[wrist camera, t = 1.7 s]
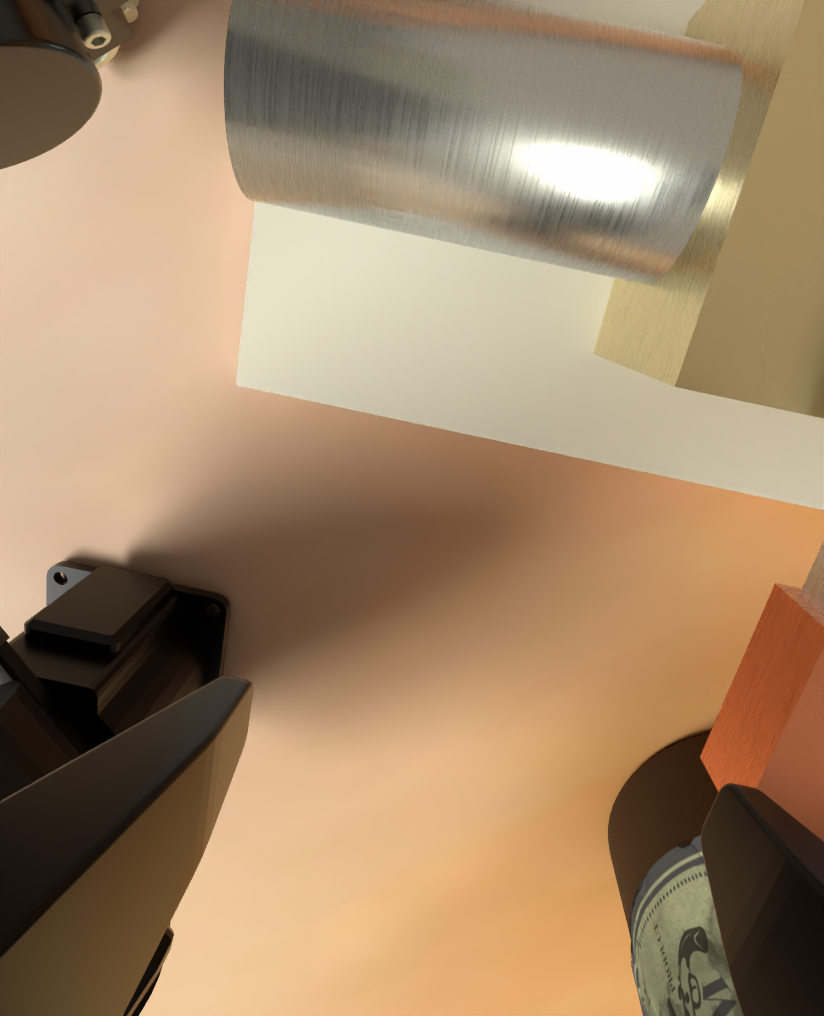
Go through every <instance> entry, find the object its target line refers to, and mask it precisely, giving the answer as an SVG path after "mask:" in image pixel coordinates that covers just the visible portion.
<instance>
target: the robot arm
mask: <svg viewBox="0 0 824 1016" xmlns="http://www.w3.org/2000/svg"><path fill="white" fill-rule="evenodd" d="M60 572H62V573H64V574H65V575H66V576H67V579H68V580H65V579H63V577H62V576H61V574H60ZM210 604H214V605H216V606H217V607H218V608H219V611H220V612H215V611H213V610H212V609H211V608H210ZM229 614H230V603H229V601H228V599H227V598H226V597H224V596H223V595H221V594H219V593H214V592H210V591H205V590H200V589H196V588H191V587H186V586H181V585H177V584H173V583H171V582H170V581H169V580H168V579H164V578H159V577H154V576H150V575H145V574H140V573H135V572H131V571H126V570H121V569H117V568H112V567H107V566H100V567H98V568H96V567H92V566H87V565H82V564H78V563H73V562H68V561H61V562H59V563H57V564H55V565H54V566H52V567H51V568H50V569H49V570H48V573H47V605H46V607H45V608H43V609H42V610H41V611H39V612H38V613H37V614H35V615H34V616H33V617H31V618H30V619H29V620H27V621H26V622H25V624H24V631H23V632H22V633H21V634H19V635H18V636H17V637H15V638H14V639H13V640H12V641H10V642H9V643H8V642H7V641H6V640H7V639H9V636H8V635H7V634H6V632H5V631H4V630H3V629H2V628H1V626H0V1016H139V1014H140V1013H141V1011H142V1009H143V1007H144V1006H145V1004H146V1002H147V1001H148V999H149V997H150V995H151V994H152V991H153V989H154V987H155V985H156V982H157V980H158V978H159V975H160V972H161V969H162V965H163V963H164V961H165V959H166V957H167V955H168V953H169V951H170V949H171V945H172V940H173V936H174V933H173V930H172V929H171V928H170V922H171V919H172V917H173V915H174V913H175V911H176V909H177V907H178V905H179V903H180V901H181V899H182V897H183V895H184V893H185V891H186V889H187V887H188V885H189V883H190V881H191V880H192V878H193V875H194V873H195V871H196V869H197V867H198V865H199V863H200V861H201V858H202V856H203V854H204V851H205V849H206V846H207V844H208V841H209V839H210V836H211V833H212V831H213V828H214V825H215V823H216V820H217V817H218V815H219V812H220V809H221V807H222V804H223V801H224V799H225V796H226V793H227V791H228V788H229V785H230V783H231V780H232V777H233V775H234V772H235V769H236V767H237V764H238V761H239V759H240V756H241V753H242V750H243V748H244V744H245V741H246V737H247V732H248V725H249V718H250V710H251V703H252V695H253V685H252V683H251V682H250V681H249V680H244V679H240V678H235V677H230V676H222V674H223V665H224V657H225V648H226V640H227V631H228V623H229ZM701 849H702V854H703V858H704V863H705V867H706V872H707V876H708V881H709V886H710V890H711V895H712V899H713V904H714V908H715V913H716V917H717V922H718V927H719V931H720V936H721V940H722V945H723V949H724V953H725V957H726V961H727V965H728V969H729V973H730V976H731V979H732V983H733V986H734V990H735V993H736V996H737V999H738V1002H739V1006H740V1009H741V1012H742V1015H743V1016H824V841H822V840H821V839H820V838H819V837H817V836H816V835H815V834H814V833H812V832H811V831H810V830H809V829H808V828H806V827H805V826H804V825H803V824H801V823H800V822H799V821H798V820H796V819H795V818H794V817H793V816H792V815H790V814H789V813H788V812H787V811H785V810H784V809H783V808H782V807H780V806H779V805H778V804H777V803H775V802H774V801H773V800H772V799H771V798H769V797H768V796H767V795H766V794H764V793H763V792H762V791H760V790H759V789H756V788H753V787H749V786H744V785H739V784H734V783H727V784H725V785H723V786H722V787H721V789H720V790H719V792H718V794H717V797H716V799H715V801H714V803H713V805H712V808H711V810H710V812H709V814H708V816H707V819H706V821H705V823H704V825H703V828H702V832H701Z"/></svg>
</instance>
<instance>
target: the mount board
mask: <svg viewBox="0 0 824 1016" xmlns="http://www.w3.org/2000/svg"><path fill="white" fill-rule="evenodd" d="M515 1H520V2H524V3H529V4H534V5H538V6H543V7H548V8H553V9H557V10H562V11H567V12H571V13H576V14H581V15H585V16H590V17H595V18H599V19H604V20H609V21H613V22H618V23H623V24H627V25H632V26H637V27H642V28H646V29H651V30H656V31H660V32H665V33H670V34H674V35H679V36H684V37H685V33H686V30H687V26H688V23H689V20H690V19H691V18H692V17H693V16H694V14H695V13H696V12H697V11H698V10H699V8H700V7H701V6H702V5H703V4H704V3H705V1H706V0H515ZM614 279H615V278H613V277H608V276H604V275H599V274H594V273H590V272H585V271H580V270H575V269H571V268H566V267H561V266H557V265H552V264H547V263H543V262H538V261H533V260H528V259H524V258H519V257H514V256H510V255H505V254H500V253H496V252H491V251H486V250H481V249H477V248H472V247H467V246H463V245H458V244H453V243H449V242H444V241H439V240H435V239H430V238H425V237H420V236H416V235H411V234H406V233H402V232H397V231H392V230H388V229H383V228H378V227H373V226H369V225H364V224H359V223H355V222H350V221H345V220H341V219H336V218H331V217H326V216H322V215H317V214H312V213H308V212H303V211H298V210H294V209H289V208H284V207H279V206H275V205H270V204H265V203H261V202H256V201H255V209H254V219H253V228H252V237H251V247H250V256H249V265H248V275H247V284H246V293H245V303H244V312H243V321H242V331H241V340H240V350H239V359H238V368H237V378H236V385H237V386H242V387H246V388H251V389H256V390H260V391H265V392H270V393H275V394H279V395H284V396H289V397H293V398H298V399H303V400H307V401H312V402H317V403H322V404H326V405H331V406H336V407H340V408H345V409H350V410H355V411H359V412H364V413H369V414H373V415H378V416H383V417H388V418H392V419H397V420H402V421H406V422H411V423H416V424H420V425H425V426H430V427H435V428H439V429H444V430H449V431H453V432H458V433H463V434H468V435H472V436H477V437H482V438H486V439H491V440H496V441H500V442H505V443H510V444H515V445H519V446H524V447H529V448H533V449H538V450H543V451H548V452H552V453H557V454H562V455H566V456H571V457H576V458H581V459H585V460H590V461H595V462H599V463H604V464H609V465H613V466H618V467H623V468H628V469H632V470H637V471H642V472H646V473H651V474H656V475H661V476H665V477H670V478H675V479H679V480H684V481H689V482H693V483H698V484H703V485H708V486H712V487H717V488H722V489H726V490H731V491H736V492H741V493H745V494H750V495H755V496H759V497H764V498H769V499H774V500H778V501H783V502H788V503H792V504H797V505H802V506H806V507H811V508H816V509H821V510H824V419H823V418H819V417H814V416H809V415H805V414H800V413H795V412H790V411H786V410H781V409H776V408H772V407H767V406H762V405H758V404H753V403H748V402H743V401H739V400H734V399H729V398H725V397H720V396H715V395H710V394H706V393H701V392H696V391H692V390H687V389H682V388H678V387H674V386H671V385H669V384H666V383H664V382H661V381H659V380H656V379H654V378H652V377H649V376H647V375H644V374H642V373H639V372H637V371H634V370H632V369H629V368H627V367H624V366H622V365H619V364H617V363H614V362H612V361H609V360H607V359H604V358H602V357H599V356H597V355H595V354H593V352H594V348H595V345H596V341H597V338H598V334H599V331H600V328H601V324H602V321H603V317H604V314H605V310H606V307H607V303H608V300H609V296H610V293H611V289H612V286H613V283H614Z"/></svg>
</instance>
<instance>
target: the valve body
mask: <svg viewBox="0 0 824 1016" xmlns="http://www.w3.org/2000/svg"><path fill="white" fill-rule="evenodd" d="M224 107H225V123H226V133H227V141H228V148H229V154H230V158H231V163H232V167H233V171H234V174H235V177H236V180H237V182H238V185H239V187H240V189H241V191H242V192H243V194H244V195H245V196H246V197H247V198H248V199H249V200H252V201H256V202H261V203H265V204H270V205H275V206H279V207H284V208H289V209H294V210H298V211H303V212H308V213H312V214H317V215H322V216H326V217H331V218H336V219H341V220H345V221H350V222H355V223H359V224H364V225H369V226H373V227H378V228H383V229H388V230H392V231H397V232H402V233H406V234H411V235H416V236H420V237H425V238H430V239H435V240H439V241H444V242H449V243H453V244H458V245H463V246H467V247H472V248H477V249H481V250H486V251H491V252H496V253H500V254H505V255H510V256H514V257H519V258H524V259H528V260H533V261H538V262H543V263H547V264H552V265H557V266H561V267H566V268H571V269H575V270H580V271H585V272H590V273H594V274H599V275H604V276H608V277H613V278H615V279H614V283H613V286H612V289H611V293H610V296H609V300H608V303H607V307H606V310H605V314H604V317H603V321H602V324H601V328H600V331H599V334H598V338H597V341H596V345H595V348H594V352H593V354H595V355H597V356H599V357H602V358H604V359H607V360H609V361H612V362H614V363H617V364H619V365H622V366H624V367H627V368H629V369H632V370H634V371H637V372H639V373H642V374H644V375H647V376H649V377H652V378H654V379H656V380H659V381H661V382H664V383H666V384H669V385H671V386H674V387H678V388H682V389H687V390H692V391H696V392H701V393H706V394H710V395H715V396H720V397H725V398H729V399H734V400H739V401H743V402H748V403H753V404H758V405H762V406H767V407H772V408H776V409H781V410H786V411H790V412H795V413H800V414H805V415H809V416H814V417H819V418H823V419H824V0H706V1H705V3H704V4H703V5H702V6H701V7H700V8H699V10H698V11H697V12H696V13H695V14H694V16H693V17H692V18H691V19H690V20H689V23H688V26H687V30H686V33H685V37H684V36H679V35H674V34H670V33H665V32H660V31H656V30H651V29H646V28H642V27H637V26H632V25H627V24H623V23H618V22H613V21H609V20H604V19H599V18H595V17H590V16H585V15H581V14H576V13H571V12H567V11H562V10H557V9H553V8H548V7H543V6H538V5H534V4H529V3H524V2H520V1H515V0H232V5H231V10H230V16H229V23H228V30H227V39H226V50H225V65H224Z"/></svg>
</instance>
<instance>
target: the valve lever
mask: <svg viewBox="0 0 824 1016" xmlns="http://www.w3.org/2000/svg"><path fill="white" fill-rule="evenodd" d="M700 758H701V760H702V762H703V764H704V766H705V768H706V770H707V771H708V773H709V775H710V777H711V779H712V781H713V783H714V785H715V786H716V788H717V790H718V792H719V790H720V789H721V787H722V786H723V785H725V784H727V783H734V784H739V785H744V786H749V787H753V788H756V789H759V790H760V791H762V792H763V793H764V794H766V795H767V796H768V797H769V798H771V799H772V800H773V801H774V802H775V803H777V804H778V805H779V806H780V807H782V808H783V809H784V810H785V811H787V812H788V813H789V814H790V815H792V816H793V817H794V818H795V819H796V820H798V821H799V822H800V823H801V824H803V825H804V826H805V827H806V828H808V829H809V830H810V831H811V832H812V833H814V834H815V835H816V836H817V837H819V838H820V839H821V840H822V841H824V541H823V543H822V546H821V548H820V550H819V552H818V554H817V557H816V559H815V561H814V563H813V565H812V568H811V570H810V572H809V574H808V577H807V579H806V581H805V583H804V585H803V588H802V589H799V588H795V587H790V586H785V585H780V584H776V583H775V585H774V587H773V590H772V592H771V594H770V596H769V599H768V601H767V603H766V606H765V608H764V610H763V613H762V615H761V617H760V619H759V622H758V624H757V626H756V629H755V631H754V633H753V636H752V638H751V640H750V643H749V645H748V647H747V649H746V652H745V654H744V656H743V659H742V661H741V663H740V666H739V668H738V670H737V673H736V675H735V677H734V679H733V682H732V684H731V686H730V689H729V691H728V693H727V696H726V698H725V700H724V703H723V705H722V707H721V709H720V712H719V714H718V716H717V719H716V721H715V723H714V726H713V728H712V730H711V733H710V735H709V737H708V739H707V742H706V744H705V746H704V749H703V751H702V753H701V756H700Z"/></svg>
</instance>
